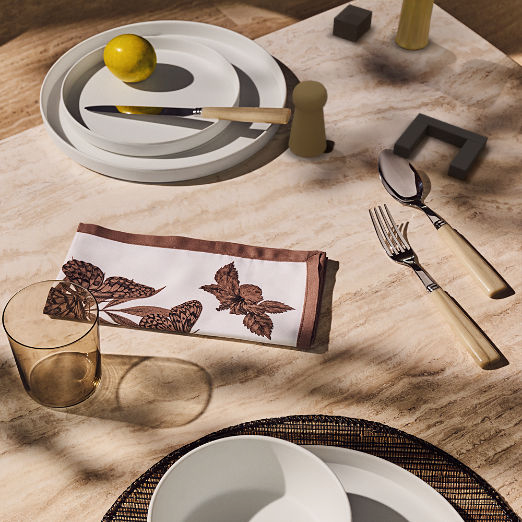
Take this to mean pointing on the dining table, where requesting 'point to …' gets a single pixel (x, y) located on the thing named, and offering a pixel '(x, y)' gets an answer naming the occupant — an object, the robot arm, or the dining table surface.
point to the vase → (414, 24)
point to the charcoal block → (352, 23)
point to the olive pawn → (308, 119)
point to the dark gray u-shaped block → (446, 132)
